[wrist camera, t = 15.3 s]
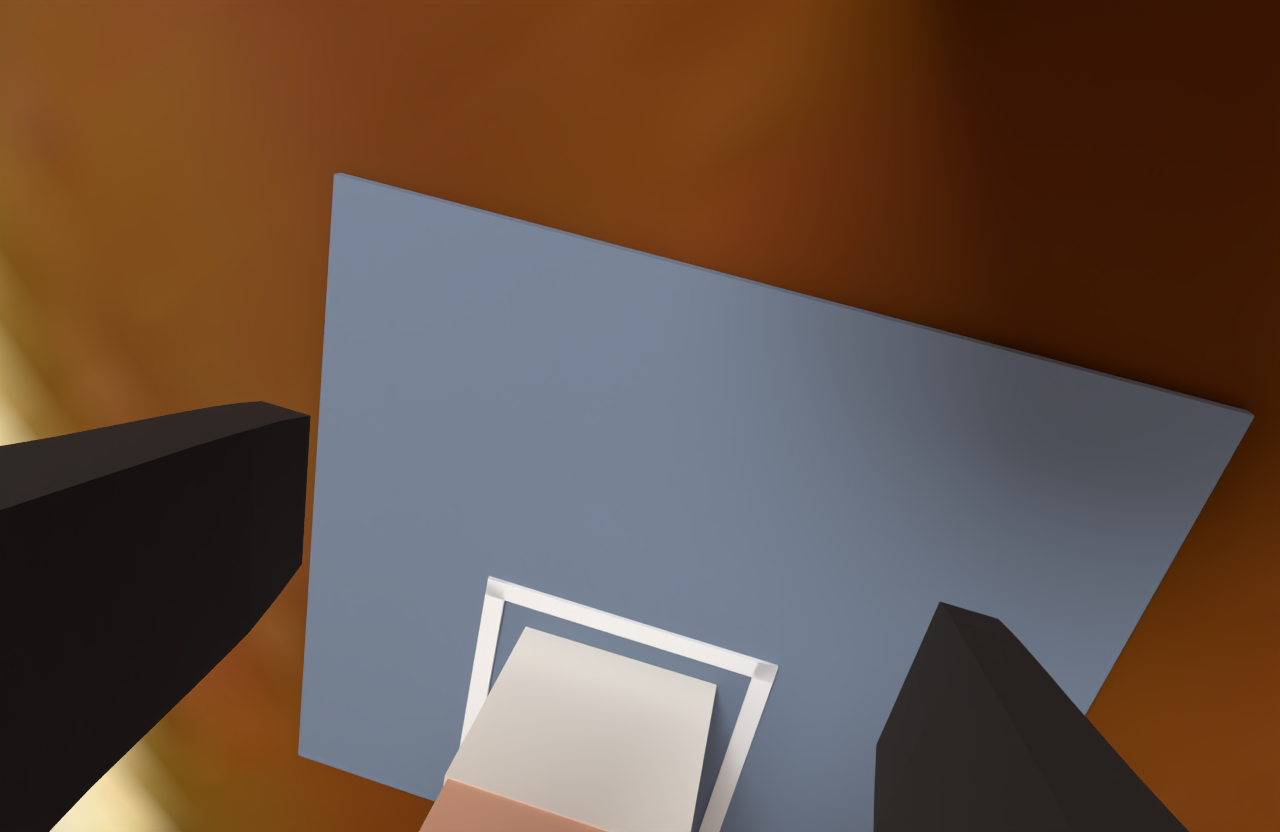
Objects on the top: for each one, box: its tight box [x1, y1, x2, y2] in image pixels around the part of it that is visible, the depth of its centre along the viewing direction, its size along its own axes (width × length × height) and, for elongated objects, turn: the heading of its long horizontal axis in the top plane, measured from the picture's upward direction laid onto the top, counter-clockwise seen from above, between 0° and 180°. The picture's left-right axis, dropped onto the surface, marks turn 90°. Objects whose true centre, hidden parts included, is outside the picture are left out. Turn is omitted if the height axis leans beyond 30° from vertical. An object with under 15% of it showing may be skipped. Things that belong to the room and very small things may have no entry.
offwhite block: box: [443, 627, 717, 832], centre depth 20 cm, size 5×5×5 cm
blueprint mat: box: [298, 173, 1255, 832], centre depth 20 cm, size 17×19×1 cm
